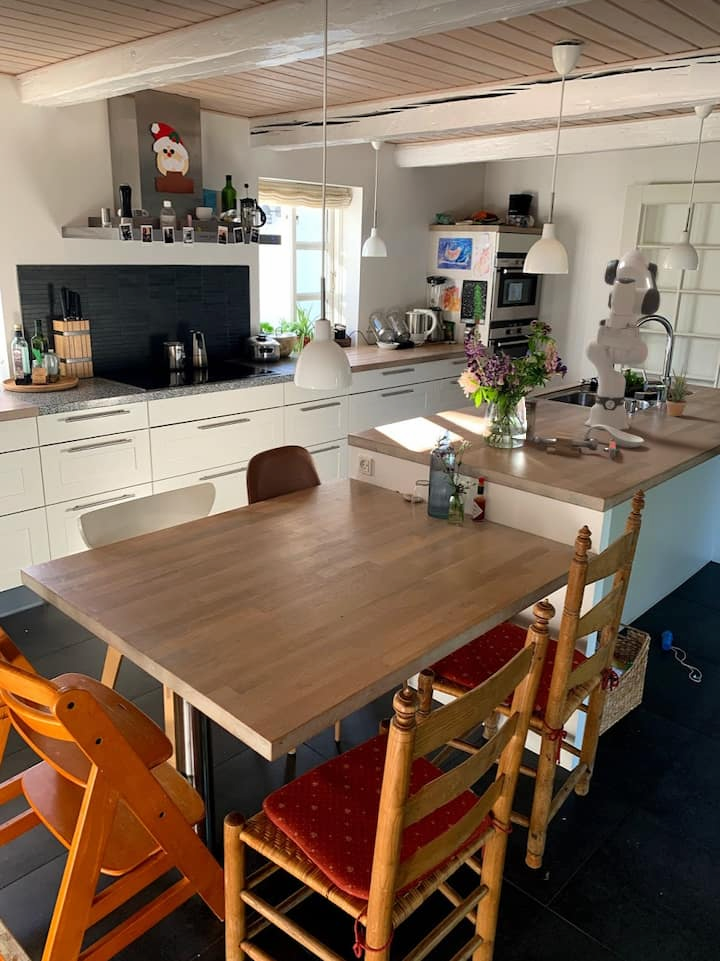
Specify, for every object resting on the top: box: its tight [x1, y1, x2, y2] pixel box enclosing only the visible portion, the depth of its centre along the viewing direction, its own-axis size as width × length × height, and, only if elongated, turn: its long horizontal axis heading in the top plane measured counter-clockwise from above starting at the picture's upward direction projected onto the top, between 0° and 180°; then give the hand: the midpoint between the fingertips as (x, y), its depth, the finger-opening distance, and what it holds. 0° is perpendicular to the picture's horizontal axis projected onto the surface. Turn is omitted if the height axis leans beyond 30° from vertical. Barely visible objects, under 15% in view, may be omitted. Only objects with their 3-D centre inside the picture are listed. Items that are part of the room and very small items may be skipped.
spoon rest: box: [582, 424, 644, 449], centre depth 306 cm, size 24×12×7 cm, turn 57°
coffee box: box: [524, 398, 538, 442], centre depth 310 cm, size 9×6×16 cm
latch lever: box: [608, 440, 617, 458], centre depth 289 cm, size 14×2×3 cm, turn 164°
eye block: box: [546, 430, 581, 457], centre depth 294 cm, size 14×12×6 cm
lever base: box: [602, 438, 620, 453], centre depth 296 cm, size 6×6×4 cm
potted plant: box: [665, 365, 689, 417], centre depth 360 cm, size 10×10×25 cm
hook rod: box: [533, 436, 599, 451], centre depth 294 cm, size 3×24×4 cm, turn 74°
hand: (615, 359), depth 288 cm, fingers open, 8 cm apart
